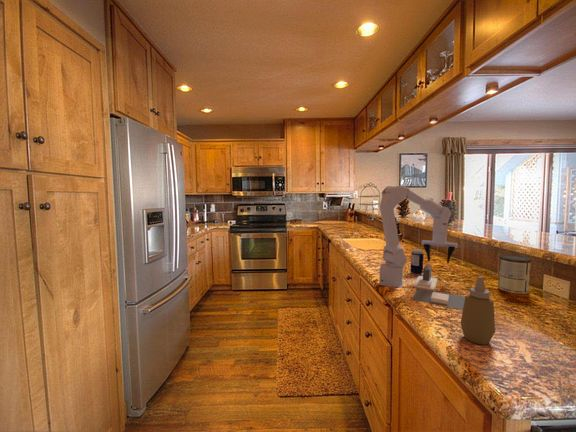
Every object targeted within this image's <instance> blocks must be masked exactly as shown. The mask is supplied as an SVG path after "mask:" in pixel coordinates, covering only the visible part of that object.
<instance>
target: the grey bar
mask: <svg viewBox="0 0 576 432" xmlns="http://www.w3.org/2000/svg"><path fill="white" fill-rule="evenodd" d="M432 266H433V265H431V264H425V265H424V266H423V273H422V276H423V280H421V279H420V280H419V282H418V285H419V286H425V287H431V285H432V281H430V279H431V278H432Z"/></svg>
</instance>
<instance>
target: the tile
mask: <svg viewBox="0 0 576 432" xmlns="http://www.w3.org/2000/svg"><path fill="white" fill-rule="evenodd" d="M442 293H443V292H442ZM442 293H436V292H433V293H432V296H431V302H436V303H441V304H446V305H448V300H449V295H448V294H449V293H448V294H442Z"/></svg>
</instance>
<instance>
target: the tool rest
mask: <svg viewBox="0 0 576 432" xmlns="http://www.w3.org/2000/svg"><path fill="white" fill-rule="evenodd" d="M420 279H421V280H423V275H418V276H417V279H416V280H415V282H414V283H413V285H412V287H414V288H417V289H418V288H420V289H426V290H431V291H435V289H436V285H437V283H438V280H439V279H438V278H436V277H431V279H430V281H432V285H431V287H425V286H419V285H418V282H419V280H420Z"/></svg>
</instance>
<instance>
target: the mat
mask: <svg viewBox="0 0 576 432" xmlns="http://www.w3.org/2000/svg"><path fill="white" fill-rule="evenodd" d="M433 292H436V293H442V294H448V295H449V300H448V305H446V304H441V303H436V302H431V296H432V293H433ZM465 297H466V296H463V295H460V294H452V293H448V292H441V291H436V290H429V289H423V288H418V287H417V289H416V291H415V293H414V294H413V296H412V298H411V300H412V301H416V302H422V303H426V304H431V305H437V306H441V307H446V308H451V309H456V310H461V311H463V307H464V302H465Z"/></svg>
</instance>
